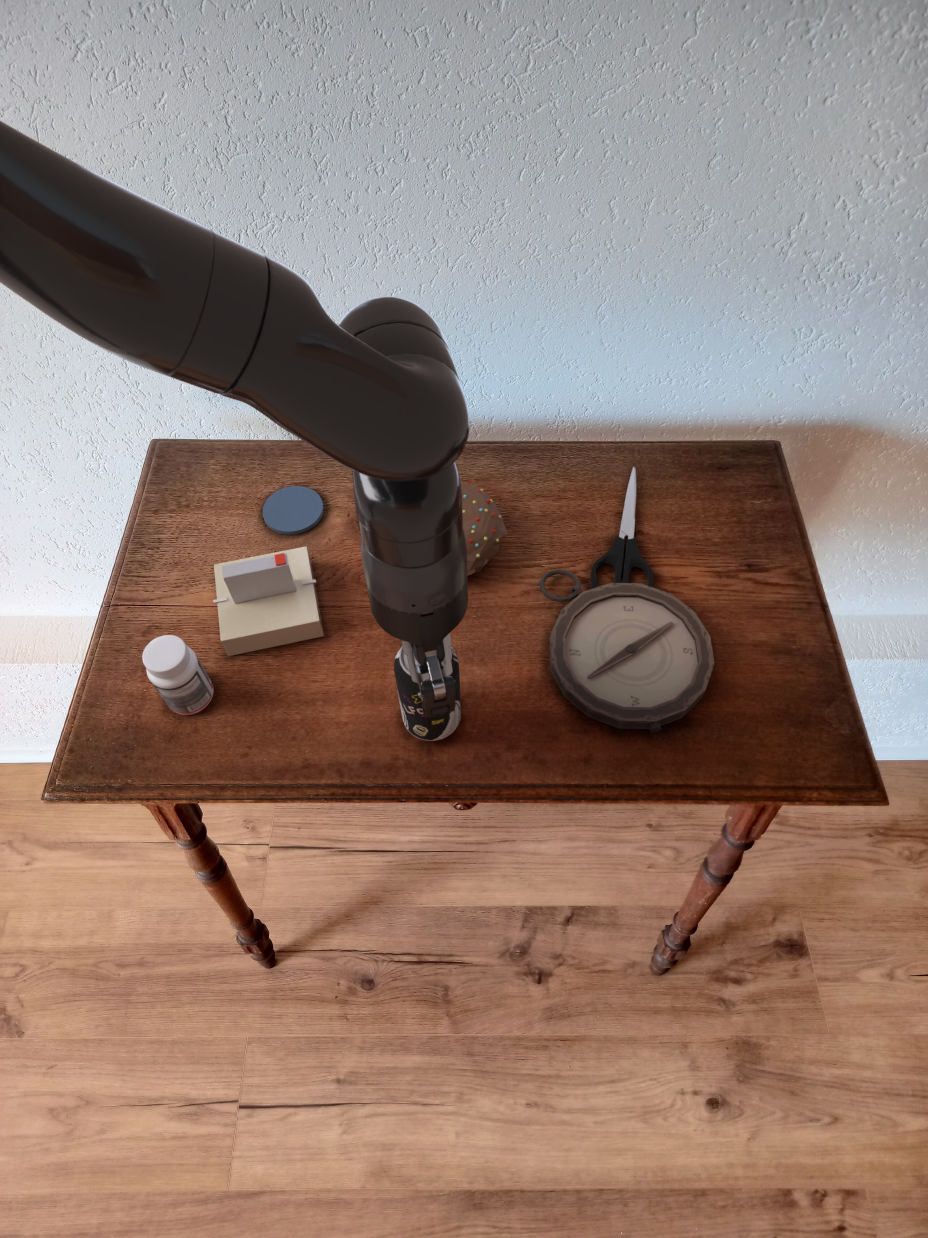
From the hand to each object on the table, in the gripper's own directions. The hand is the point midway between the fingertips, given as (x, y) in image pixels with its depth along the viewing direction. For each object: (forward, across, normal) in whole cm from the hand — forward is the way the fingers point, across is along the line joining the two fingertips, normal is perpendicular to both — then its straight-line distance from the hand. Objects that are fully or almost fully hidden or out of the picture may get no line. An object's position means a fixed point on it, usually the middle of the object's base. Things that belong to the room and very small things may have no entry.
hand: (428, 680), depth 73 cm
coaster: (+8, -30, -10) cm, 33 cm away
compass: (+8, -3, +21) cm, 23 cm away
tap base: (+8, -17, -14) cm, 23 cm away
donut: (+8, -21, +6) cm, 23 cm away
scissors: (+8, -17, +26) cm, 32 cm away
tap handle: (+5, -17, -14) cm, 22 cm away
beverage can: (+8, 0, 0) cm, 8 cm away
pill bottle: (+8, -8, -23) cm, 26 cm away
